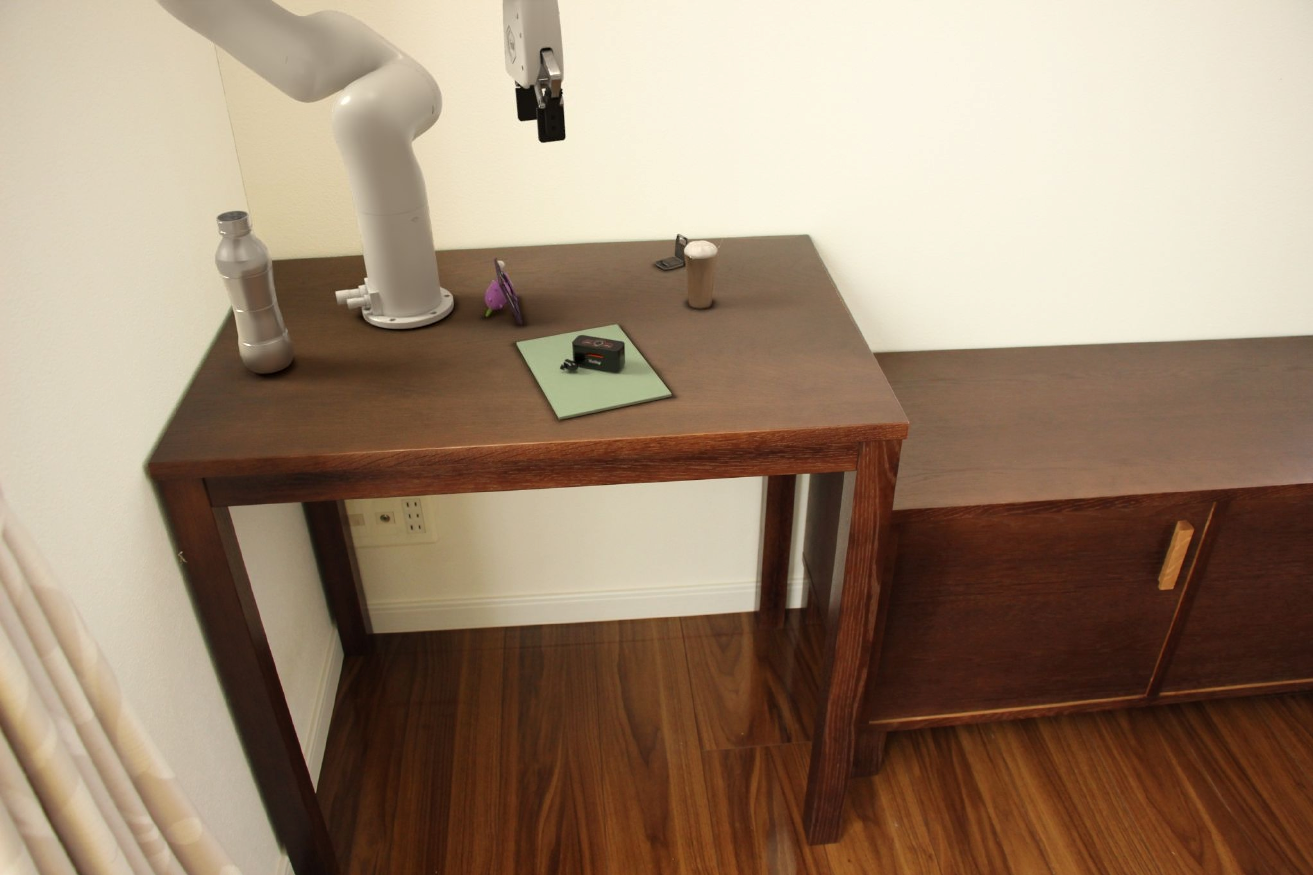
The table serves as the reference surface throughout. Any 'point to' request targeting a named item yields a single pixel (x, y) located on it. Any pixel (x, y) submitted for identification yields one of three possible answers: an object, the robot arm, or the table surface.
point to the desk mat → (590, 375)
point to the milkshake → (700, 272)
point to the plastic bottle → (252, 295)
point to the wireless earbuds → (596, 354)
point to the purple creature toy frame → (501, 293)
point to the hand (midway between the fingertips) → (541, 130)
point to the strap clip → (679, 254)
